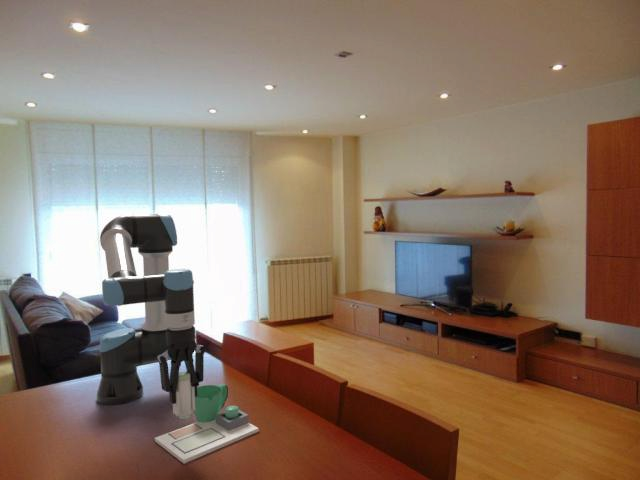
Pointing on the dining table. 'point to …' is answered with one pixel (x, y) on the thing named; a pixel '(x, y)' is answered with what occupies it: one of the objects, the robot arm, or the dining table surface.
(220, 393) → the mug
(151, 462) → the dining table surface
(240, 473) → the dining table surface
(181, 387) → the marker
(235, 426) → the board
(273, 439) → the dining table surface
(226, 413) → the button
